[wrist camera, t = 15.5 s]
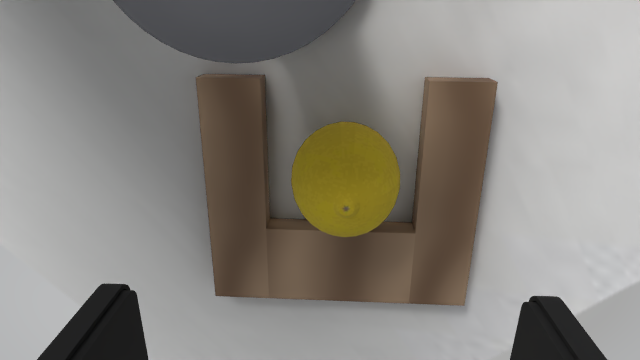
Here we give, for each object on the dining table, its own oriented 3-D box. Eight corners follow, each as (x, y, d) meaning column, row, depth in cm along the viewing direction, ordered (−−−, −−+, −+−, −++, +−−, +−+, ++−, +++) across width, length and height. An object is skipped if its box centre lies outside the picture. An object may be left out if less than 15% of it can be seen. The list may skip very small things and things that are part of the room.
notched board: (221, 282, 30) (215, 295, 29) (203, 73, 25) (195, 77, 24) (458, 291, 29) (464, 305, 28) (488, 78, 24) (497, 82, 23)
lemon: (391, 106, 25) (413, 145, 18) (390, 195, 27) (409, 264, 20) (295, 109, 26) (277, 149, 18) (301, 197, 27) (286, 266, 20)
